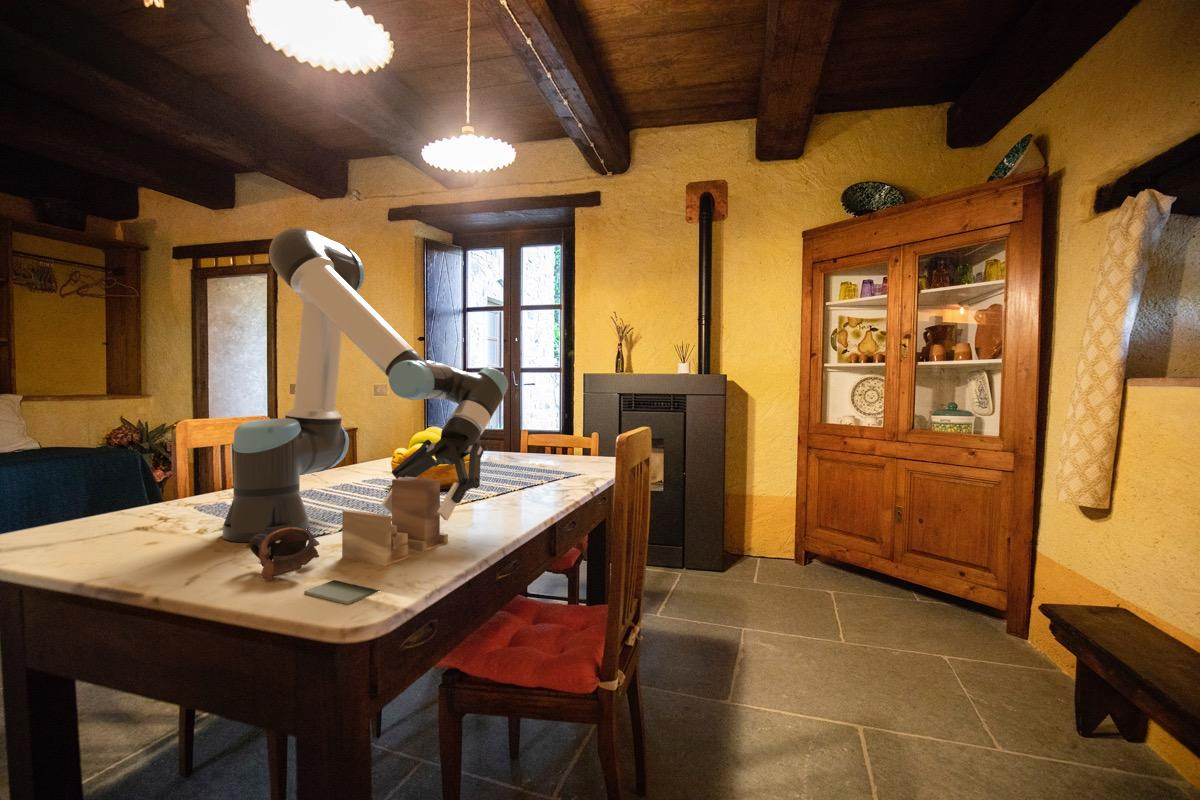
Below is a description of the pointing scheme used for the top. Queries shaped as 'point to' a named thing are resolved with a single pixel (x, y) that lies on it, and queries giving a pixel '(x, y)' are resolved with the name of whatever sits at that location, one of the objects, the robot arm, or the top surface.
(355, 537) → the rack
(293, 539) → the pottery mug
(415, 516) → the brown rectangular block
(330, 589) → the felt mat
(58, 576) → the top surface
